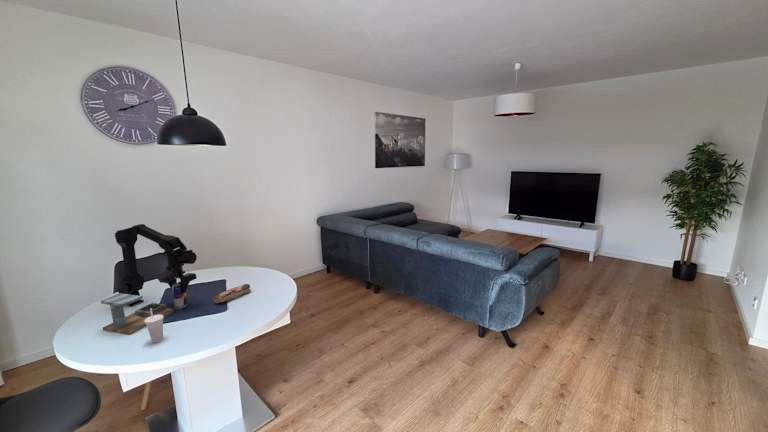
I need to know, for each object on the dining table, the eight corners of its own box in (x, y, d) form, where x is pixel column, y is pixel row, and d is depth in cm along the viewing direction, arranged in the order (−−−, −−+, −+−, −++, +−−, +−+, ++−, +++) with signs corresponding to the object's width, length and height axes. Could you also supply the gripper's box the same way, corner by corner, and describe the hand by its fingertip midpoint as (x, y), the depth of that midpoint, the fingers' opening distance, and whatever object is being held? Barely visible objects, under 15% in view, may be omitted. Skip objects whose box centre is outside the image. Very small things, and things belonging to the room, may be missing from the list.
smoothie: (154, 335, 134) (149, 305, 131) (170, 334, 134) (165, 304, 131) (144, 344, 127) (138, 312, 125) (161, 343, 128) (155, 311, 125)
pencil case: (210, 300, 166) (209, 291, 165) (247, 288, 180) (246, 280, 179) (217, 307, 158) (216, 298, 158) (256, 294, 172) (255, 286, 171)
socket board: (102, 330, 139) (96, 301, 136) (149, 307, 159) (144, 282, 156) (130, 334, 135) (124, 305, 132) (174, 311, 155) (170, 285, 152)
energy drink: (181, 309, 156) (178, 286, 154) (172, 308, 158) (168, 286, 155) (190, 304, 162) (186, 282, 159) (181, 303, 163) (177, 281, 160)
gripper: (144, 267, 150) (149, 297, 153) (175, 270, 145) (180, 301, 148) (165, 259, 160) (170, 288, 163) (195, 262, 156) (199, 291, 159)
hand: (179, 292), depth 158 cm, fingers open, 6 cm apart
